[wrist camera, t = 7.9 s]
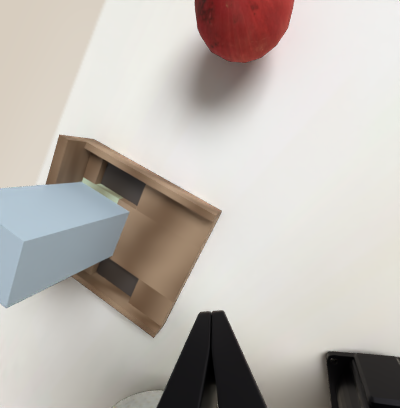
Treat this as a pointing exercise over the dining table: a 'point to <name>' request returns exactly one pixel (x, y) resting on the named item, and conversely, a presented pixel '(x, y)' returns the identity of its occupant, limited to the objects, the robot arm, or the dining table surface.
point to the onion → (242, 26)
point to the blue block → (53, 235)
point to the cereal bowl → (141, 400)
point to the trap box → (138, 231)
